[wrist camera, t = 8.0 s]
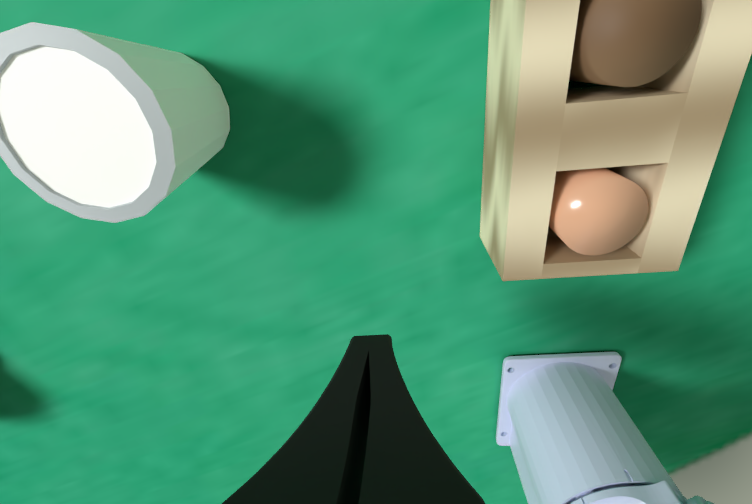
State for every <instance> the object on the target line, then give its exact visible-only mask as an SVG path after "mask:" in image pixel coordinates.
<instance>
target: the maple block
mask: <svg viewBox="0 0 752 504" xmlns="http://www.w3.org/2000/svg"><path fill="white" fill-rule="evenodd" d="M579 5H580V0H491V2H490V24H489V46H488V68H487V90H486V111H485V133H484V155H483V177H482V199H481V221H480V238H481V240H482V242H483V244H484V246H485V248H486V249H487V251H488V253H489V255H490V257H491V259H492V261H493V263H494V265H495V267H496V269H497V271H498V273H499V275H500V277H501V279H502V281H511V280H528V279H545V278H562V277H580V276H597V275H614V274H631V273H648V272H665V271H678V269H679V266H680V263H681V260H682V257H683V254H684V251H685V248H686V246H687V243H688V240H689V237H690V234H691V231H692V228H693V225H694V222H695V219H696V216H697V213H698V210H699V207H700V204H701V201H702V198H703V195H704V192H705V189H706V187H707V184H708V181H709V178H710V175H711V172H712V169H713V166H714V163H715V160H716V157H717V154H718V151H719V148H720V145H721V142H722V139H723V136H724V133H725V130H726V128H727V125H728V122H729V119H730V116H731V113H732V110H733V107H734V104H735V101H736V98H737V95H738V92H739V89H740V86H741V83H742V80H743V77H744V74H745V71H746V69H747V66H748V63H749V60H750V57H751V54H752V0H702V11H701V19H700V23H699V27H698V30H697V32H696V35H695V37H694V39H693V41H692V43H691V45H690V47H689V48H688V50H687V51H686V53H685V54H684V55H683V56H682V58H681V59H680V60H679V61H678V62H677V63H676V64H675V65H674V66H673V67H672V68H671V69H670V70H669V71H667V72H666V73H665V74H663V75H662V76H660V77H659V78H657V79H655V80H653V81H651V82H649V83H647V84H644V85H640V86H635V87H619V86H610V85H604V86H593V87H583V88H572V89H568V84H569V76H570V69H571V62H572V55H573V48H574V41H575V34H576V26H577V19H578V12H579ZM594 168H607V169H609V170H611V171H613V172H615V173H617V174H619V175H621V176H623V177H625V178H627V179H629V180H631V181H633V182H635V183H636V184H638V185H639V186H640V187H641V188H642V189H643V191H644V192H645V194H646V196H647V199H648V214H647V218H646V221H645V223H644V225H643V227H642V228H641V230H640V231H639V232H638V234H637V235H636V236H635V237H634V238H633V239H632V240H631V241H630V242H628V243H627V244H626V245H624V246H623V247H621V248H619V249H617V250H615V251H613V252H610V253H607V254H602V255H583V254H580V253H577V252H575V251H573V250H572V249H570V248H569V247H568V246H567V245H566V244H565V243H564V242H563V241H562V240H561V239H560V238H559V237H558V236H557V235H556V233H555V232H554V231H553V230H552V229H551V228H550V227H549V219H550V212H551V205H552V198H553V191H554V184H555V176H556V171H568V170H581V169H594Z"/></svg>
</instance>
